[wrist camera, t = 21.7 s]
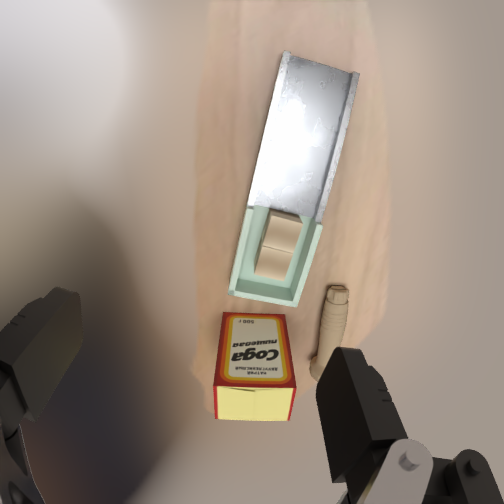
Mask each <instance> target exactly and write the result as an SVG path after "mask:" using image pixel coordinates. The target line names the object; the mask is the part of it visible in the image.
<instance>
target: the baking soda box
mask: <svg viewBox="0 0 504 504" xmlns="http://www.w3.org/2000/svg"><path fill="white" fill-rule="evenodd" d="M213 390H214V409H215V419H228V420H256V421H257V420H259V421H288V420H289V419H290V416H291V411H292V407H293V402H294V398H295V393H296V381H295V375H294V368H293V362H292V356H291V349H290V343H289V337H288V331H287V325H286V319H285V314H255V313H230V312H223V317H222V324H221V331H220V339H219V346H218V353H217V361H216V369H215V376H214V384H213Z"/></svg>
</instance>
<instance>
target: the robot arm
mask: <svg viewBox="0 0 504 504" xmlns="http://www.w3.org/2000/svg"><path fill="white" fill-rule="evenodd" d="M82 326H83V325H82V315H81V304H80V296H79V294H78V293H77V292H73V291H70V290H67V289H64V288H61V287H55V288H54V289H52V290H51V291H50V292H49V293H48V295H46V296H45V297H44V298H39V299H36V300H34V301H32V302H30V303H28V304H27V305H26V306H25V307H24V308H23V309H22V310H21V311H20V312H19V313H18V315H17V316H15V317H14V318H13V319H12V320H11V321H10V324H9V323H8V324H7V325H6V326H5V327H4V328H3V329H2V330H1V332H0V504H45V502H44V500H43V498H42V496H41V494H40V492H39V490H38V489H37V487H36V485H35V482H34V480H33V476H32V473H31V469H30V466H29V462H28V458H27V454H26V450H25V445H24V441H23V436H22V431H21V427H20V425H19V423H20V421H21V420H22V418H23V417H25V418H27V419H29V420H31V421H33V422H35V423H36V421H37V419H38V418H39V416H40V414H41V412H42V411H43V408H44V407H45V405H46V403H47V402H48V400H49V398H50V397H51V395H52V393H53V392H54V390H55V388H56V386H57V385H58V383H59V382H60V380H61V378H62V377H63V375H64V373H65V372H66V370H67V368H68V367H69V365H70V364H71V362H72V360H73V359H74V357H75V356H76V354H77V353H78V351H79V349H80V347H81V344H82V339H83V327H82ZM387 390H388V389H387V387H386V384H385V382H384V380H383V378H382V376H381V375H380V374H379V373H378V372H377V371H376V370H375V369H374V368H373V367H372V366H368V364H367V362H366V360H365V358H364V355H363V353H362V351H361V350H360V349H354V348H345V347H336V348H335V349H334V350H333V352H332V354H331V356H330V359H329V361H328V363H327V365H326V367H325V369H324V371H323V373H322V375H321V377H320V379H319V381H318V384H317V388H316V401H317V406H318V411H319V416H320V421H321V426H322V431H323V435H324V441H325V446H326V452H327V457H328V462H329V468H330V473H331V478H332V483H343V482H346V484H347V490H346V491H345V492H344V493H343V495H342V496H341V498H340V499H339V501H338V502H337V504H504V502H503V499H502V497H501V494H500V491H499V489H498V486H497V484H496V482H495V479H494V477H493V474H492V472H491V469H490V467H489V465H488V462H487V461H486V459H485V458H484V457H483V456H482V455H481V454H480V453H479V452H477V451H475V450H470V449H467V450H463V451H461V452H460V453H459V454H458V455H457V456H456V457H455V458H454V459H453V460H449V459H442V458H435V457H432V456H431V454H430V452H429V451H428V449H427V448H426V447H425V446H424V445H423V444H421V443H419V442H418V441H415V440H412V439H408V437H407V434H406V432H405V429H404V427H403V424H402V422H401V419H400V417H399V415H398V412H397V410H396V408H395V405H394V403H393V402H392V398H391V396H390V394H389V392H387Z"/></svg>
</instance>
